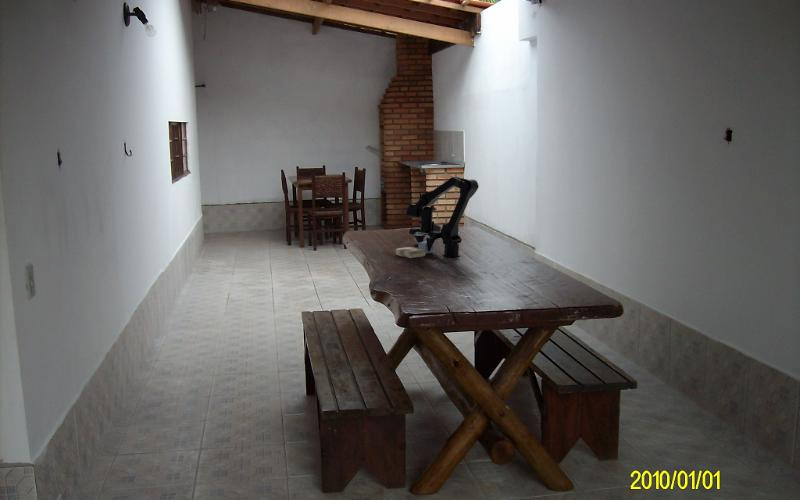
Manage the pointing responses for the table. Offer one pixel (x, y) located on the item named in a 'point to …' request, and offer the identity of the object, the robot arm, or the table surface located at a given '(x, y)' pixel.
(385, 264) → the table surface
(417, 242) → the die
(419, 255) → the maple base
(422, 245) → the slate block
